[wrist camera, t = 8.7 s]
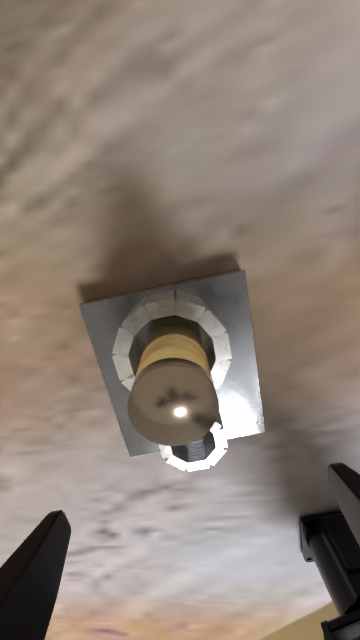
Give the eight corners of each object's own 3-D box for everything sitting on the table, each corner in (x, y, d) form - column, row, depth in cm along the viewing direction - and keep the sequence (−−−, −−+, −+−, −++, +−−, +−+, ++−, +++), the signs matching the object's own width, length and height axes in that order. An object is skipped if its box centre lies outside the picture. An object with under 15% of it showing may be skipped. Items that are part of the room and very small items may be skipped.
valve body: (205, 358, 19) (225, 437, 11) (154, 368, 19) (140, 453, 11) (195, 309, 17) (210, 359, 10) (141, 321, 18) (115, 378, 10)
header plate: (260, 422, 22) (279, 461, 18) (132, 446, 22) (123, 489, 18) (240, 269, 18) (259, 275, 14) (85, 301, 18) (59, 316, 14)
